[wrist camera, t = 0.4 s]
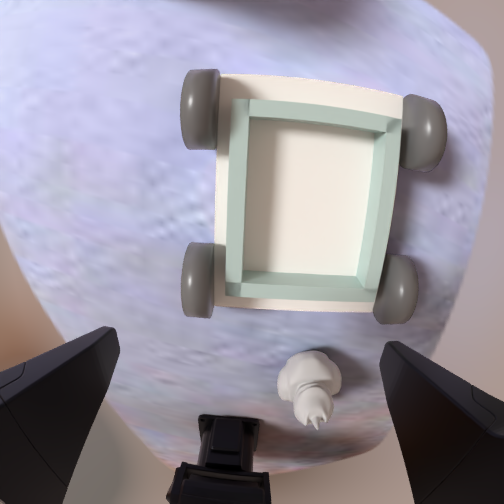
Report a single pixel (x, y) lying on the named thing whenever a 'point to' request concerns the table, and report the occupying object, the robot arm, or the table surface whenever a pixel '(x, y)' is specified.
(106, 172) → the table surface
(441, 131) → the toy chassis
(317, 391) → the white figurine
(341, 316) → the table surface
